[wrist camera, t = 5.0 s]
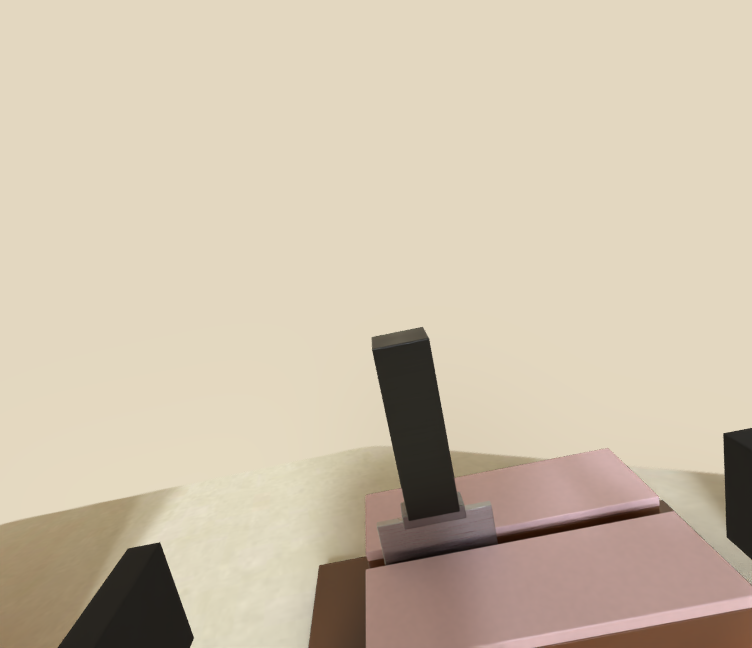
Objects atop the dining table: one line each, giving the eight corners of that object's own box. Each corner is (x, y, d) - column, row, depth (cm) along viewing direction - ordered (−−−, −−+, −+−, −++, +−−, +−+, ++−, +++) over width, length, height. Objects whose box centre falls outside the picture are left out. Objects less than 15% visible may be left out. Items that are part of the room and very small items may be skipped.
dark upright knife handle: (507, 625, 27) (457, 319, 23) (520, 660, 25) (466, 330, 21) (406, 644, 27) (337, 343, 23) (409, 681, 25) (334, 356, 21)
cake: (617, 539, 32) (608, 447, 30) (763, 728, 20) (762, 594, 18) (385, 583, 32) (365, 494, 31) (397, 793, 20) (365, 667, 19)
